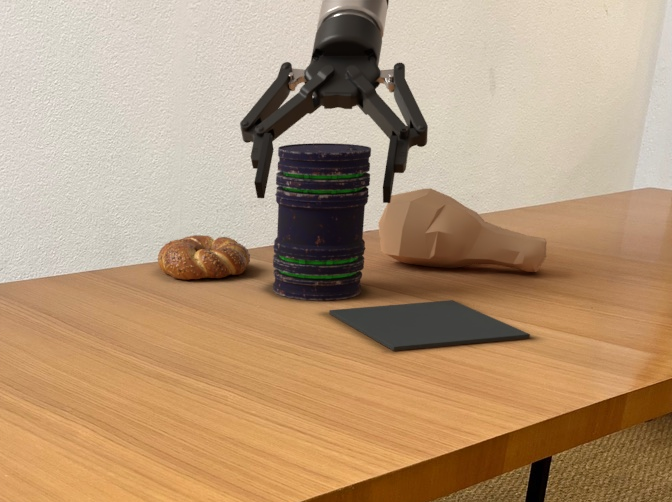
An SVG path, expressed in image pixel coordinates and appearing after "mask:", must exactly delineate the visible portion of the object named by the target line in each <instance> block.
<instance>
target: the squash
mask: <svg viewBox="0 0 672 502" xmlns="http://www.w3.org/2000/svg"><path fill="white" fill-rule="evenodd" d="M378 232H379V233H378V234H379V243H380V253H382V254H384V255H386V256H389V257H390V258H392V259H394V260H396V261H399V262H401V263H403V264H407V265H415V266H416V265H417V266H422V267H423V266H424V267H430V268H445V269H447V268H448V269H449V268H450V269H458V268H462V267H468V266H473V265H493V266H494V265H495V266H502V267H507V268H514V269H517V270H520V271H524V272H527V273H529V272H532V273H534V272H535V273H537V272H538V271H539V269H540V268H541V266H542V265H543V263H544V261H545V260H546V258H547V255H548V254H547V243H548V241H547V239H546V237H540V236H535V235H529V234H524V233H521V232H518V231H514V230H510V229H507V228H503V227H501V226H498V225H496V224H493V223H491V222H488V221H485V219H484V218H483V217H482V216H481V215H480V214H479V213H478V212H477V211H475V210H473V209H471V208H469V207H467V206H466V205H464V204H463V203H461V202H459V201H458V200H456V199H455V198H453V197H452V196H449V195H447V194H445V193H442V192H440V191H438V190H436V189H433V188H431V187H430V188H429V187H428V188H420V189H416V190H412V191H411V190H410V191H406V192H400V193H398V194H391V201H390V203H386V206H385V208H384V210H383V212H382V214H381V216H380V218H379V220H378Z"/></svg>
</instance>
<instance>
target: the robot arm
mask: <svg viewBox="0 0 672 502" xmlns="http://www.w3.org/2000/svg"><path fill="white" fill-rule="evenodd" d="M389 2H390V1H389V0H322V1H321V5H320V11H319V16H318V20H317V25H316V32H315V37H314V42H313V47H312V53H311V58H310V63H309V64H308V66H307V67H306V68H305V69H304V68H303V69H300V68H293V65H292V63H291V62H289V61H285V62H282V63H281V65H280V68H279V70H278V74H277V77H276V78H275V79H274V81H273V82H272V83H271V84H270V86H269V87H268V88H267V89H266V91H265V92H264V93H263V94H262V95H261V96H260V98H259V99H258V100H257V102H256V103H255V104H254V105H253V106H252V108H251V109H250V110H249V111H248V112H247V114H246V115H245V116H244V117H243V119H241V121H240V122H239V127H240V132H241V137H242V141H243V142H244V143H247V144H249V143H252V148H251V152H250V160H251V161H250V162H251V166H252V169H254V170H256V172H255V177H254V181H253V182H254V183H253V184H254V188H255V194H256V198H257V199H265V196H266V190H267V186H268V181H269V175H270V170H271V166H272V159H273V155H274V144H273V143H274V141H275V140H277V138H279V137H280V136H282V135H283V134H284V133H286V132H287V131H288V130H289V129H290V128H291V127H293V126H295V124H296V123H298V122H299V121H300V120H301V119H303V118H304V117H305V116H306V115H308V114H309V115H312V114H313V113H314V112H316V111H317V110H319V108H321V107H323V109H324V110H331V109H338V108H340V109H344V110H353V108H354V107H356V106H357V107H358V108H359V109H360V110H361V112H362V113H363V114H364V115H366V116H367V115H368V117H370V119H371V120H372V121H373V122H374V123H375V125H376V126H377V127H378V128H379V129H380V130H381V132H383V133H384V135H386V137H387V138H388V139H389V144H388V151H387V156H386V164H385V168H384V169H385V170H384V175H383V181H382V203H383V204H388V203H390V201H391V196H392V195H393V187H394V181H395V174H404V173H405V172H406V170H407V163H408V157H409V151H410V149H411V148H412V147H415V146H417V147H419V148H423V147H425V146H426V145H428V131H429V129H428V128H429V126H428V123H427V121H426V119H425V117H424V115H423V113H422V111H421V109H420V107H419V104H418V103H417V101H416V99H415V96H414V94H413V92H412V90H411V88H410V86H409V84H408V81H407V80H406V64H405V63H403V62H396V63H394V65H393V68H392V69H391V68H390V69H381V68H380V67H379V66H380V65H379V64H380V57H381V51H382V45H383V38H384V34H385V33H384V32H385V26H386V20H387V13H388V9H389ZM303 83H304V84H303ZM300 84H303V85H302V86H301V87H300V89H299V92H297V93H296V94H295V95H293V96H292V97H291V98H289V100H287V98H288V97H289V95H290V94H291V92H295V91H296V88H297V87H298V86H299V85H300ZM380 84H383V85H385V87H386V89H387V90H388V92H389V93H393V99H394V101H395V103H396V105H397V107H398V110H399V112H400V114H401V116H402V119H403V120H404V121H402V119H401V118H400V117H399V116H398V115H397V114H396V113H395V112H394V111H393V109H391V107H390V106H389V105H388V104H387V103H386V102H385V100H383V98H382V97H381V96H380V94H378V92H377V88H378V87H379V86H380ZM286 100H287V101H286ZM284 102H285V103H284ZM404 122H405V123H404Z"/></svg>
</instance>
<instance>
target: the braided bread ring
mask: <svg viewBox="0 0 672 502" xmlns="http://www.w3.org/2000/svg"><path fill="white" fill-rule="evenodd" d="M250 262H251V254H250V253H249V250H248V249H247V248H246V246H244V245H243V244H241V243H239V242H238V241H237V240H235V239H234V238H231V237H228V236H220V237H217V238H216V239H214V238H212V236H209V235H201V234H199V235H197V234H193V235H190V236H185V237H182V238H180V239H178V238H177V239H174V240H170V241H169V242H166V243H165V244H164V245H163V246H162V247H161V249H160V250H159V252H158V255H157V263H158V267H159V268H160V270H161V271H162V272H163V273H164V274H165V275H169V276H170V277H172V278H174V279H179V280H186V281H187V280H188V281H189V280H198V279H209V278H211V279H222V278H226V277H227V276H230V275H231V276H238V275H241V274H243V273H244V271H246V269H247V267H248V265H249V264H250Z"/></svg>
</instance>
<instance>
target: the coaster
mask: <svg viewBox="0 0 672 502" xmlns="http://www.w3.org/2000/svg"><path fill="white" fill-rule="evenodd" d="M329 315H330V316H332V317H334V318H336V319H338V320H339V321H341V322H343V323H344V324H346V325H348V326H349V327H351V328H353V329H355V330H356V331H359V332H360V333H362V334H364V335H365V336H367V337H369V338H370V339H372V340H374V341H376V342H378V343H379V344H381V345H382V346H384V347H386V348H388V349H390V350H391V351H393V352H395V351H408V350H419V349H430V348H438V347H449V346H451V347H452V346H460V345H471V344H482V343H493V342H494V343H495V342H504V341H514V340H525V339H530V336H531V333H528V332H526V331H524V330H521V329H519V328H517V327H515V326H512V325H510V324H507V323H505V322H503V321H501V320H498V319H496V318H494V317H491V316H490V315H488V314H485V313H483V312H480V311H478V310H476V309H473V308H471V307H469V306H467V305H464V304H462V303H460V302H459V301H455V300H453V299H449V300H448V299H447V300H438V301H425V302H424V301H423V302H413V303H401V304H389V305H375V306H363V307H354V308H353V307H351V308H338V309H329Z"/></svg>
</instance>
